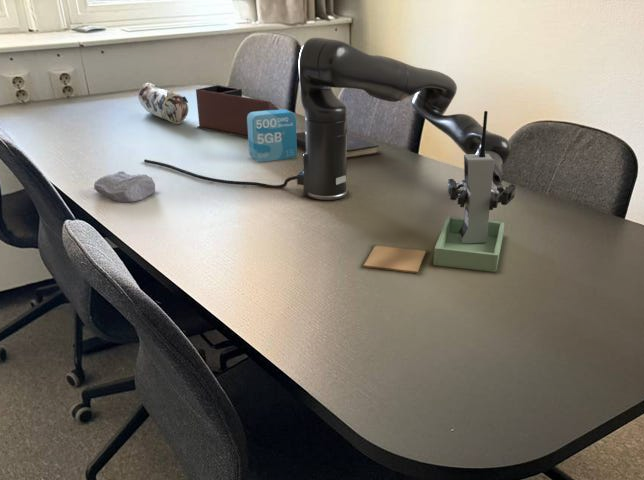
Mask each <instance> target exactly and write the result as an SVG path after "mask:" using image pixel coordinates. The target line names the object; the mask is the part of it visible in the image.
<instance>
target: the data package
mask: <svg viewBox="0 0 644 480" xmlns="http://www.w3.org/2000/svg"><path fill="white" fill-rule="evenodd" d="M279 109H280V108H279ZM247 125H248V138H247V139H248V153H249V156H250V157H251V158H252V159H254V160H255V161H257V162H258V163H264V162H265V163H266V162H273V161H282V160H292V159H294V158H296V156H297V154H298V146H297V136H296V133H297V116H296V114H295V113H294V112H292V111H290V110H289V109H286V108H281V109H280V110H268V111H256V112H250V113H249V114H248V116H247Z"/></svg>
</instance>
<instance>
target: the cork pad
mask: <svg viewBox="0 0 644 480" xmlns="http://www.w3.org/2000/svg"><path fill="white" fill-rule="evenodd" d="M426 254H427V250H420V249H412V248H404V247H393V246H384V245H377V244H376V245H375V246H374V247H373V249H372V250H371V252H370V253H369V256H368V257H367V259H366V260H365V262H364V264H363V268H367V269H377V270H385V271H393V272H401V273H409V274H418V273H419V271H420V267H421V266H422V264H423V261H424V258H425V256H426Z"/></svg>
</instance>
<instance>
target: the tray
mask: <svg viewBox="0 0 644 480" xmlns="http://www.w3.org/2000/svg"><path fill="white" fill-rule="evenodd" d="M463 223H464V217H455V216H446V219H445V222H444V224H443V227H442V229H441V232H440V233H439V236H438V238H437V240H436V244H435V246H434V251H433V263H432V264H433V266H441V267H449V268H456V269H465V270H473V271H483V272H491V273H492V272H493V273H496V272H497V270H498V263H499V259H500V253H501V248H502V243H503V237H504V230H505V222H503V221H495V220H489V222H488V233H487V242H486V243H480V244H462V242H461V240H460V238H459V236H458V234H459V230H460V229H461V227H462V225H463Z"/></svg>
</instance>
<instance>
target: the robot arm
mask: <svg viewBox="0 0 644 480" xmlns="http://www.w3.org/2000/svg"><path fill="white" fill-rule="evenodd" d="M298 77H299V90H300V102H301V105H302V108H303V110H304V126H305V127H304V130H305V131H304V132H305V137H306V150H305V152H304V153H303V155H302V169H301V170H300V172H298V173H297V174H296V175H294V176H290V177H288V178H286V179H285V180H284V182H283V183H282V184H275V185H274V184H267V183H264V182H263V183H262V182H257V181H239V180H229V179H220V178H214V177H209V176H205V175H200V174H197V173H195V172H191V171H188V170H185V169H182V168H180V167H177V166H174V165H171V164H168V163H164V162H161V161H156V160H152V159H151V160H150V159H146V158H145V159H143V162H144V163H146V164H151V165H155V166H160V167H165V168H168V169H171V170H174V171H176V172H179V173H181V174H185V175H187V176H191V177H193V178H196V179H200V180H204V181H208V182H212V183H213V182H214V183H218V184H227V185H237V186H256V187H262V188H268V189H269V188H270V189H283V188H286V187H287V185H288V183H289V182H292V181H294V180H295V181H296V185H297V186H303V197H308V198H310V199H314V200H319V201H335V200H339V199H340V200H341V199H343V198H345V197H346V196H347V193H348V192H347V191H348V189H347V188H348V187H347V165H348V164H347V162H348V161H347V160H348V159H347V133H348V109H347V105H346V104H345V103H344V102H343V101H342V100H340V99H339V98H338V97H337V95H335V93H334V90H333V88H334V89H335V88H337V89H339V88H340V89H354V90H362V91H364V92H365V93H366V94H367V95H369V96H370V97H373V98H375V99H378V100H382V101H386V102H391V103H397V102H401V101H403V100H406V99H408V98H410V97H412V99H411V105H412V107H413V109H414V110H415V111H416V113H417V114H419V115H420V116H421V117H422V118H424V119H425V120H426V121H428V122H429V123H430V124H432V125H433V126H434V127H435V128H437V129H439V131H441V132H442V133H444V134H445V135H446V136H448V137H449V138H450V139H451V140H452V141H453V142H454V144H456V146H457V147H458V148H459V149H460V150H461V151H462V152H463V153H464V155H465V154H480V149H481V138H482V133H483V125H481V124H480V122H478V120H476V119H475V118H474V117H473V116H471V115H469V114H465V113H455V114H448V115H447V114H446V115H444V114H445V113H446V112H447V110H448V108H449V106H450V105H451V103H452V101H453V100H454V98H455V96H456V94H457V91H458V85H457V83H456V81H455V80H454V78H452V77H450V76H449V75H447V74H445V73H444V72H441V71H437V70H433V69H429V68H428V69H427V68H422V67H417V66H414V65H411V64H408V63H406V62H403V61H401V60H397V59H395V58H391V57H387V56H383V55H380V54H379V55H377V54H376V55H374V54H373V55H372V54H368V53H367V52H364V51H362V50H360V49H358V48H357V47H355V46H353V45H351V44H349V43H347V42H345V41H342V40H338V39H331V38H324V37H310V38H308V39H307V40H306V41H304V43H303V44H302V45H301V49H300V52H299V56H298ZM511 151H512V147H511V143H510V142H509V140H508V139H507V138H506V137H504V136H502V135H501V134H500V135H499V134H498V133H497V134H496V133H493V132H490V131H489V130H487V129H486V144H485V154H489V155H490V156H491V157H492V159H493V160H494V169H493V180H492V190H491V198H490V206H489V210H490V211H493V210H494V209H497V208H498V204H501V205H502V206H506V205H509V203H510V202H512V200H514V198H515V194H516V187H517V185H515V184H513V183H512V184H509V185H506V186H504V185H503V178H504V165H505V163H506V162H507V160H508V158H509V156H510V154H511ZM466 189H467V184H466V182H465V179H463V180H461V182H458V181H456V180H455V179H453V178H449V179H448V180H447V191H446V192H447V194H448V197H449V200H450V201H456V204H457V205H459V207H460V208H465V202H466V192H467V191H466Z"/></svg>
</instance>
